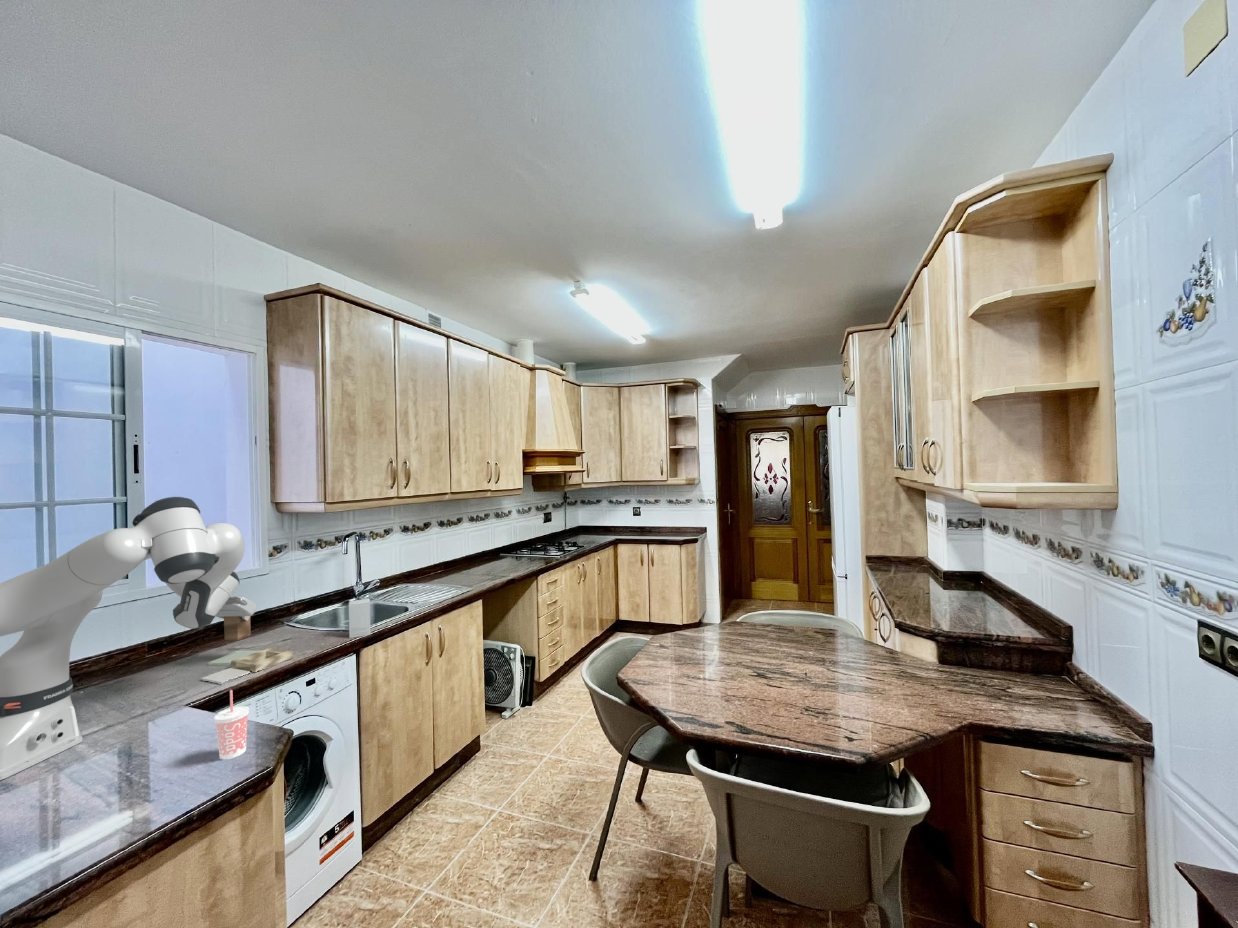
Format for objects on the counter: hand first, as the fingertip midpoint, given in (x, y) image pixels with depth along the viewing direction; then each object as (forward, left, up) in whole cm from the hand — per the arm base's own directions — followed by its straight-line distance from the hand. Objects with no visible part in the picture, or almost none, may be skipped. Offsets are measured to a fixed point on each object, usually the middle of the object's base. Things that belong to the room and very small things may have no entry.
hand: (238, 618), depth 168 cm
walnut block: (-1, 0, -6) cm, 6 cm away
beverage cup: (-65, -38, -14) cm, 76 cm away
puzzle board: (-11, -9, -14) cm, 20 cm away
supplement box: (+17, -33, -14) cm, 39 cm away
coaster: (-1, 0, -14) cm, 14 cm away
